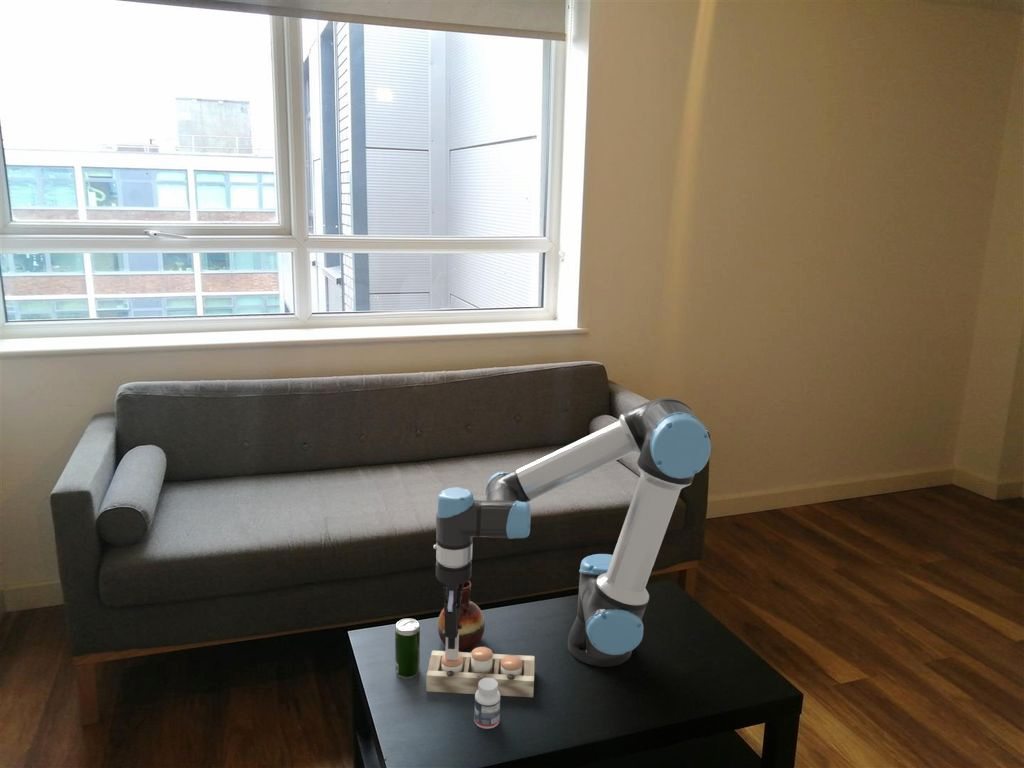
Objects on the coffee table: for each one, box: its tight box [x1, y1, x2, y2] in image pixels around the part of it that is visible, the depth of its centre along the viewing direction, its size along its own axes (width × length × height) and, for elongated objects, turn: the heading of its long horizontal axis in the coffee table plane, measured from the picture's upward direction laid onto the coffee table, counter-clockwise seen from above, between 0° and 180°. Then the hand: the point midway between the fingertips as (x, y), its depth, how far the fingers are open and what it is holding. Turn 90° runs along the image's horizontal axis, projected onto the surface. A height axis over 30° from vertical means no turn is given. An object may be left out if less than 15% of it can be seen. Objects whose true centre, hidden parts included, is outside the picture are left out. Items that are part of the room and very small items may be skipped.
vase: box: [437, 580, 486, 652], centre depth 188 cm, size 11×11×15 cm
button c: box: [441, 654, 463, 672], centre depth 175 cm, size 5×5×4 cm
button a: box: [501, 656, 522, 676], centre depth 174 cm, size 5×5×4 cm
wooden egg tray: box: [425, 650, 535, 698], centre depth 175 cm, size 23×9×4 cm, turn 88°
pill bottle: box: [473, 678, 501, 730], centre depth 162 cm, size 5×5×9 cm
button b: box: [471, 646, 494, 674], centre depth 174 cm, size 5×5×4 cm
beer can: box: [394, 618, 421, 680], centre depth 176 cm, size 5×5×12 cm
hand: (451, 657), depth 174 cm, fingers closed
